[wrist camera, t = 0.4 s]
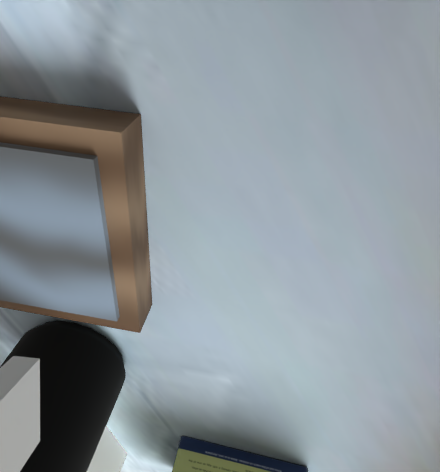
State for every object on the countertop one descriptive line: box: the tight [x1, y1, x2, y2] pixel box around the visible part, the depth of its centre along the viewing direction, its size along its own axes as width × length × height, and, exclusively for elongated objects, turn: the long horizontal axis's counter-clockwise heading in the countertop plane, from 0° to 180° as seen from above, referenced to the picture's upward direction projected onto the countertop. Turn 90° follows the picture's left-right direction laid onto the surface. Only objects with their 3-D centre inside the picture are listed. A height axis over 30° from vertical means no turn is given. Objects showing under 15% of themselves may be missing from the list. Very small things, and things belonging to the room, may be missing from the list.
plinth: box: [0, 96, 152, 333], centre depth 26 cm, size 16×16×4 cm
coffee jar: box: [0, 321, 125, 472], centre depth 30 cm, size 11×11×18 cm
